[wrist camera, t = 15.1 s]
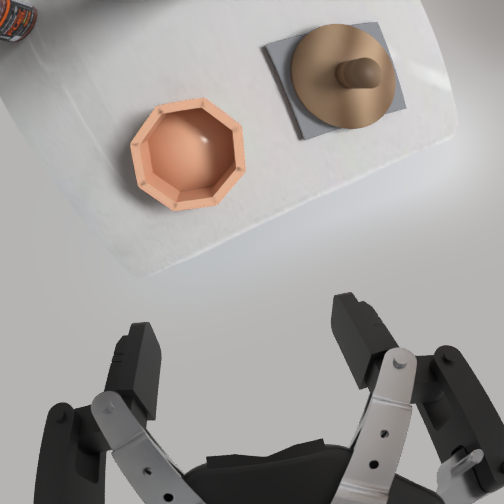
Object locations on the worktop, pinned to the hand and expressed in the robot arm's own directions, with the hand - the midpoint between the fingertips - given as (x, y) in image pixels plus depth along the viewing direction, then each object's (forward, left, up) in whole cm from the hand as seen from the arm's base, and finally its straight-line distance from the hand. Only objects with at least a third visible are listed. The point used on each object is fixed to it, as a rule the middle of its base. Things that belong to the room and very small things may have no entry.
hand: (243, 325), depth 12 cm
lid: (-16, -12, -26) cm, 32 cm away
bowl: (+4, -4, -26) cm, 27 cm away
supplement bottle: (+27, -30, -27) cm, 48 cm away
